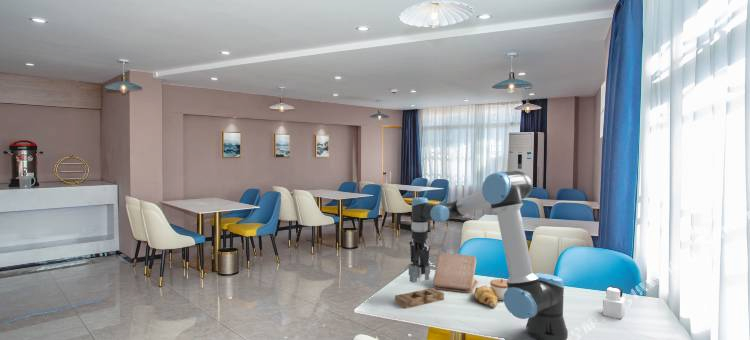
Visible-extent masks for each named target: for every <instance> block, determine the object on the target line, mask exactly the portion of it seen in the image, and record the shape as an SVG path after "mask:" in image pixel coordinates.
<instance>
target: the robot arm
mask: <svg viewBox="0 0 750 340" xmlns="http://www.w3.org/2000/svg"><path fill="white" fill-rule="evenodd" d="M532 190H533V182H532V180H531V177H529V175H528V174H526V173H525V172H522V171H519V170H517V171H516V170H514V171H498V172H494V173H491V174H488V175H487V176H486V178H484V181H483V182H482V187H481V190H480V191H478V192H476V193H473V194H470V195H468V196H464V197H462V198H460V199H457V200H454V201H451V202H443V203H429V199H428V198H427V197H424V196H421V197H418V196H417V197H413V198H412V200H411V238H412V239H413V241H409V246H410V250H409V251H410V262H411V263H412V264H414V263H420V266H419V276H417V279H419V281H420V282H424V281H426V280H425V267H428V266H429V263H430V261H429V260H430V250H431V246H429V245H427V239H429V237H428V234H429V233H428V229H429V228H428V225H429V224H428V222H429V221H432V222H436V223H444V222H446V221H447V220H451V219H460V218H462V217H465V216H466V215H468V214H471V213H474V212H477V211H480V210H484V209H487V208H489V207H491V210H492V211H493V212H495V213H496V217H497V221H498V225H499V226H498V227H499V230H500V236H501V240H502V245H503V249H504V250H503V251H504V254H505V256H504V257H505V260H506V265H507V270H508V275H509V277H508V278H507V281H506V282H507V287H508V289H507V290H506V292H505V294H504V301H503V303H504V305H505V308H506V310H507V311H508V312H509V313H510V314H512V316H514V317H515V318H517V319H520V320H526V319H527V322H526V323H525V325H526V327H525V333H526V334H527V335H528V336H530V337H531V338H533V339H535V340H567V339H568V338H569V337H568V336H569V335H568V333H569V332H568V328H567V325H566V322H565V318H564V294H565V293H564V289H565V287H564V279H562V278H561V277H559V276H556V275H553V274H549V273H539V272H538V273H537V272H536V273H534V270H533V266H532V261H531V257H530V251H529V248H528V247H529V246H528V242H527V241H528V240H527V238H526V232H525V228H524V222H523V218H522V217H523V216H522V213H521V208H522V206H523V205H524V202H523V200H524V199H526V198H528V197H529V196H530V195H531V193H532Z"/></svg>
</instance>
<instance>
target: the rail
mask: <svg viewBox="0 0 750 340" xmlns="http://www.w3.org/2000/svg"><path fill="white" fill-rule="evenodd" d="M444 300H445V293H444V292H442V291H440V290H439V289H435V288H434V287H430V288H426V289H420V290H416V291H411V292H405V293H402V294H396V295H394V302H395V303H396V304H398V306H401V307H402V308H404V309H409V308H413V307H419V306H422V305H426V304H431V303H435V302H440V301H444Z"/></svg>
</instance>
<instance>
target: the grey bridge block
mask: <svg viewBox="0 0 750 340" xmlns="http://www.w3.org/2000/svg"><path fill="white" fill-rule="evenodd" d="M419 266H420V262H419V263H414V264H413V263H409V264H408V276H409V282H410V283H417V282H418V278H417V276H419ZM430 274H431V262H429V266H428V267H425V280H424V281H429V280H430Z"/></svg>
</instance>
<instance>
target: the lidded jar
mask: <svg viewBox="0 0 750 340" xmlns="http://www.w3.org/2000/svg"><path fill="white" fill-rule="evenodd" d="M507 280H508V279H507ZM507 280H506V279H503V278H500V279H497V278H496V279H491V280H490V288H491V289H493V290H494V292H495V294H496V297H497V299H498V301H502V302H504V294H505V292H506V290H507V289H508V287H507V282H506V281H507Z"/></svg>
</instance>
